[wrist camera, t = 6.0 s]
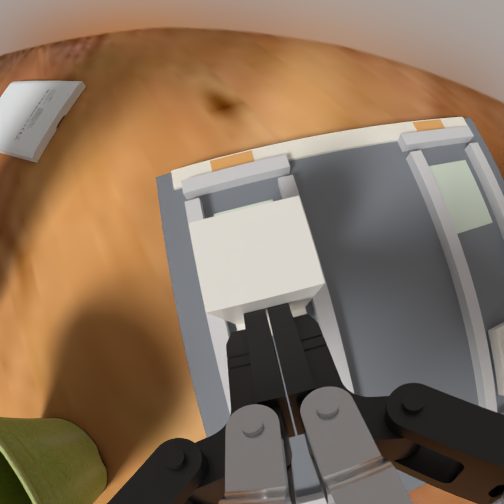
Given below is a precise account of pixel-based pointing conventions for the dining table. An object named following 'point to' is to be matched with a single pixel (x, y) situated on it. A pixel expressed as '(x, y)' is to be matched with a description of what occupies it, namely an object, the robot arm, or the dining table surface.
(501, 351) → the tab
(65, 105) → the external hard drive
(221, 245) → the tab
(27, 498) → the plant pot
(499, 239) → the switch board
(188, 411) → the dining table surface
